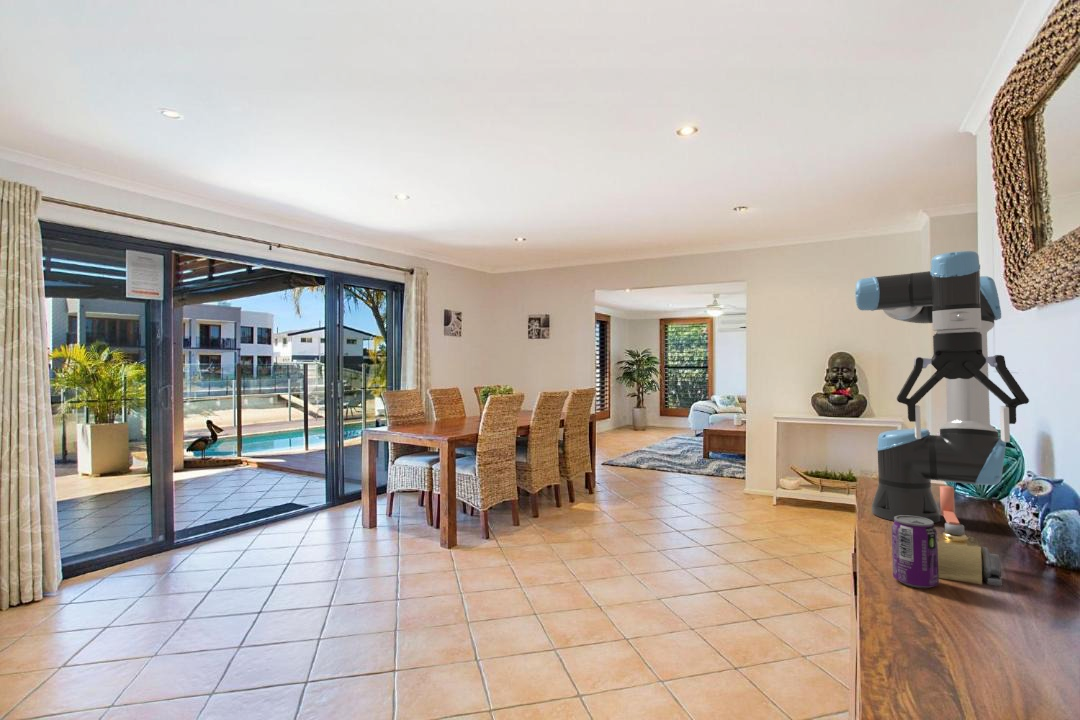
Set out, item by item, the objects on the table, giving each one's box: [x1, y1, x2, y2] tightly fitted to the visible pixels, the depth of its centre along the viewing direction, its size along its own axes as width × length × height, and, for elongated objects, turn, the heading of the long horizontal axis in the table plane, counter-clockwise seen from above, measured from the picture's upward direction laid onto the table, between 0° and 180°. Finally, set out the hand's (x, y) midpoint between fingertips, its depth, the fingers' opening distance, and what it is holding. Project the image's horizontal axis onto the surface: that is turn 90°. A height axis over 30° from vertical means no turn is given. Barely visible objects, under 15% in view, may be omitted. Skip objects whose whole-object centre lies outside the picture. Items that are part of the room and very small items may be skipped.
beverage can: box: [891, 515, 940, 589], centre depth 100 cm, size 7×7×12 cm
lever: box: [939, 485, 965, 535], centre depth 107 cm, size 13×3×7 cm, turn 148°
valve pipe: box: [937, 531, 1003, 587], centre depth 103 cm, size 6×13×8 cm, turn 58°
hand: (960, 439), depth 104 cm, fingers open, 13 cm apart
